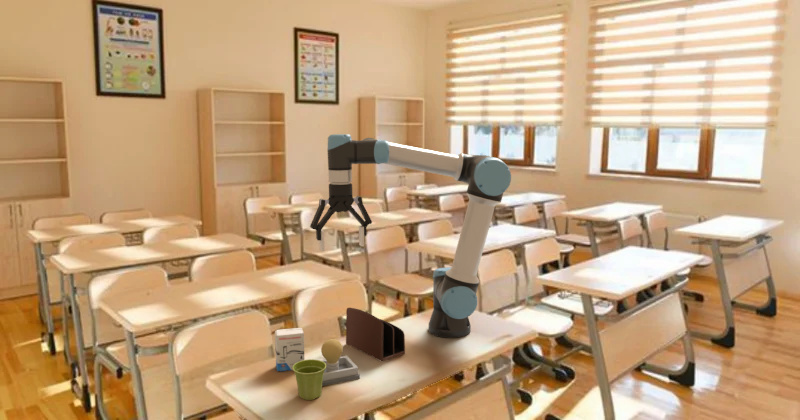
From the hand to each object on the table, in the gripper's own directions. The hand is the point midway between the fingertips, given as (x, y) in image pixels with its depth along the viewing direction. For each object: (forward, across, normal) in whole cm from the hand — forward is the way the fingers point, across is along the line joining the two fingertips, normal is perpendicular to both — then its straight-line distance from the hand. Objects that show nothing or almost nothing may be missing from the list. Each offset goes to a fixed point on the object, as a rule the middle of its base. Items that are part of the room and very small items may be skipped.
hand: (342, 248), depth 196 cm
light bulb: (+34, +10, +17) cm, 39 cm away
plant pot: (+35, +20, +27) cm, 48 cm away
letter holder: (+35, -9, +4) cm, 36 cm away
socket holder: (+35, +10, +17) cm, 40 cm away
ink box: (+35, +20, +6) cm, 41 cm away
